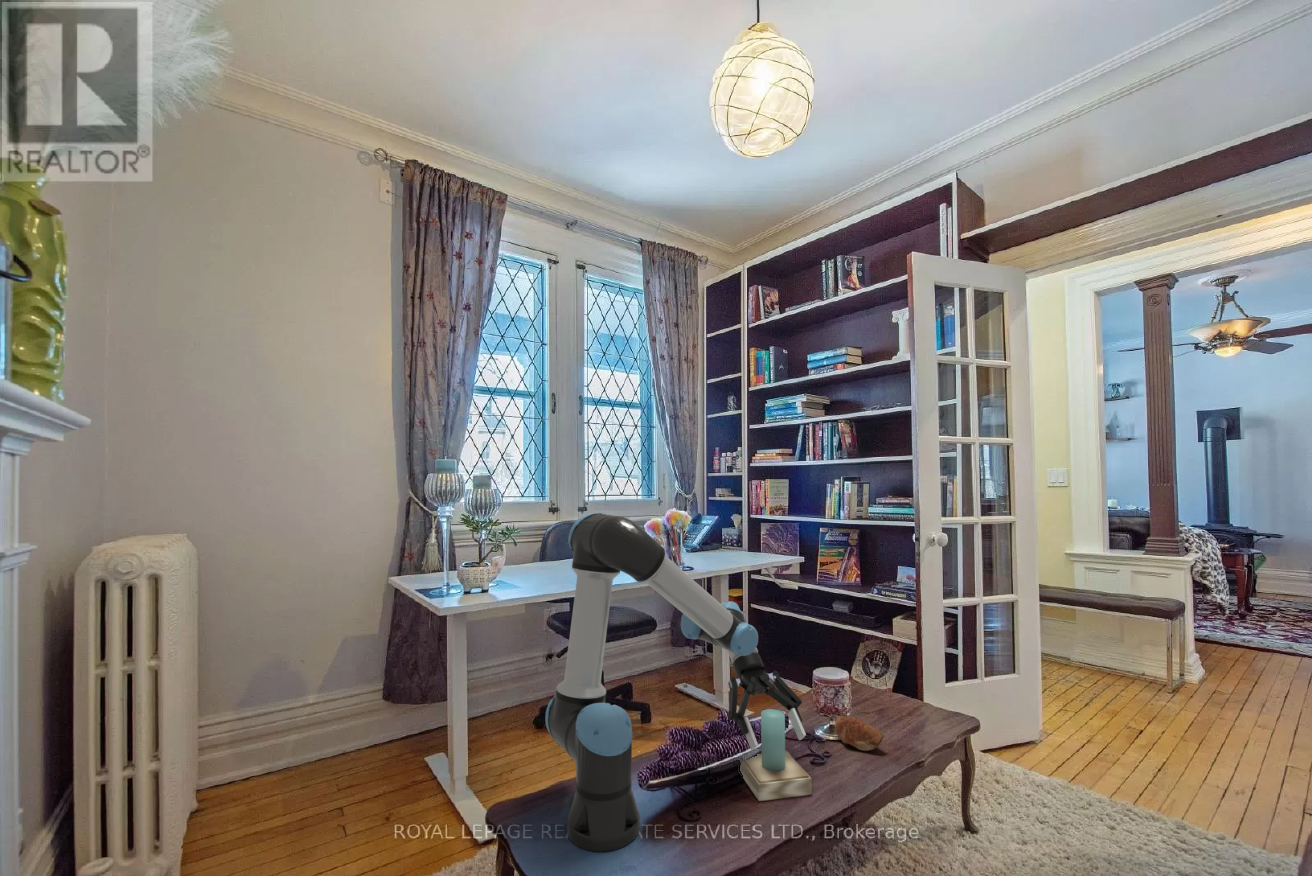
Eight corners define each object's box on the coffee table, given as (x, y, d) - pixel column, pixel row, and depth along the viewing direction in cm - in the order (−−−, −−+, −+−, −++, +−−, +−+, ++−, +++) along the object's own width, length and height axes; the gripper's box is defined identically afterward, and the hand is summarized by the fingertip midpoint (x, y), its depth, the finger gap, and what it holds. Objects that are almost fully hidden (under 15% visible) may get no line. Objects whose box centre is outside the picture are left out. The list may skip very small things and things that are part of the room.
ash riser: (758, 801, 129) (758, 782, 129) (738, 771, 141) (738, 755, 142) (811, 794, 131) (811, 776, 131) (787, 766, 144) (787, 749, 144)
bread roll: (826, 722, 161) (846, 696, 159) (847, 731, 164) (868, 705, 162) (848, 760, 149) (870, 731, 147) (870, 769, 152) (893, 741, 150)
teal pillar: (767, 772, 133) (766, 719, 134) (758, 760, 139) (757, 710, 139) (789, 770, 134) (788, 717, 135) (779, 758, 140) (778, 708, 141)
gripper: (779, 659, 156) (815, 739, 142) (698, 671, 147) (727, 758, 132) (790, 645, 152) (828, 726, 137) (707, 656, 143) (738, 745, 128)
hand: (779, 742), depth 135 cm, fingers open, 13 cm apart
